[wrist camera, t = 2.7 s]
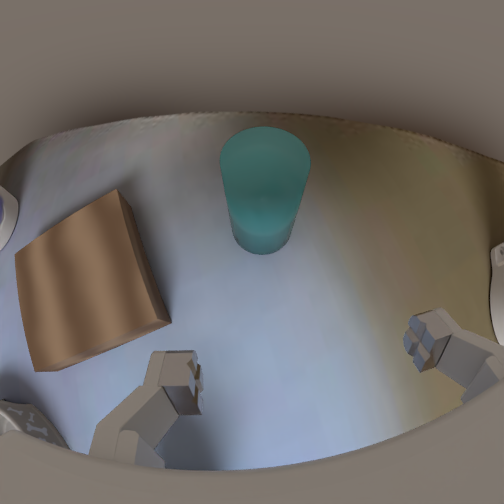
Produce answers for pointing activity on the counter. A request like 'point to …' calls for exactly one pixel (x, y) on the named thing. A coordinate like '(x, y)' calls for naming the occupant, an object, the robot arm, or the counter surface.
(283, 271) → the counter surface
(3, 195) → the container
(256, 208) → the teal rounded cylinder
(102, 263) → the wavy tan tile
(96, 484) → the robot arm
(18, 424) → the dog bowl
